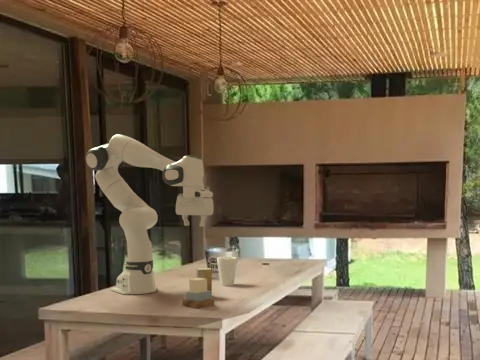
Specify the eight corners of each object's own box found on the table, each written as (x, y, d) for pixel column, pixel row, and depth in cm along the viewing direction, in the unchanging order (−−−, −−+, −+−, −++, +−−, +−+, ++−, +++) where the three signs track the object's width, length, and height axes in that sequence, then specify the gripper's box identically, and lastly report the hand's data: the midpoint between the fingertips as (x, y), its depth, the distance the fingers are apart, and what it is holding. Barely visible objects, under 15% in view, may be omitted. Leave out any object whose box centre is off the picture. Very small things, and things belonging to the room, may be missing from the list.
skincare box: (197, 298, 240) (197, 269, 240) (195, 296, 244) (195, 268, 244) (212, 297, 242) (212, 268, 242) (210, 295, 246) (209, 267, 246)
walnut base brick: (182, 307, 226) (182, 299, 226) (198, 303, 232) (198, 296, 232) (197, 309, 219) (197, 302, 219) (214, 306, 226) (214, 298, 226)
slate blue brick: (186, 299, 226) (186, 291, 226) (198, 296, 231) (198, 289, 231) (198, 301, 221) (198, 293, 221) (210, 298, 226) (210, 291, 226)
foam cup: (215, 283, 276) (215, 257, 276) (233, 282, 278) (233, 256, 278) (220, 286, 266) (220, 259, 267) (239, 285, 269) (238, 258, 269)
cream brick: (189, 291, 226) (189, 279, 226) (199, 289, 230) (199, 277, 230) (197, 293, 223) (197, 280, 223) (207, 291, 226) (206, 278, 226)
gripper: (171, 193, 243) (172, 225, 243) (204, 193, 229) (205, 227, 229) (182, 193, 248) (183, 224, 248) (215, 192, 234) (216, 226, 234)
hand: (194, 225), depth 238 cm, fingers open, 8 cm apart
